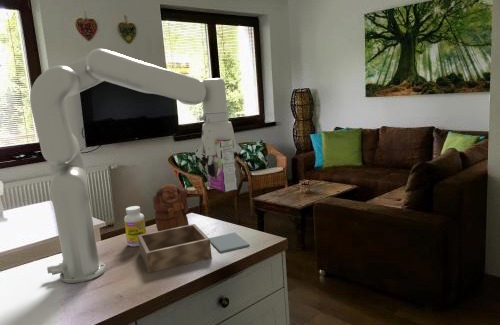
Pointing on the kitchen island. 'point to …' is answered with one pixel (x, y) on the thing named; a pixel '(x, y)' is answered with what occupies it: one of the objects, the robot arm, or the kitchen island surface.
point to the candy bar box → (223, 166)
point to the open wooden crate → (174, 247)
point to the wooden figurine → (170, 207)
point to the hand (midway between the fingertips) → (221, 174)
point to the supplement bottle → (134, 225)
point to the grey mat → (228, 242)
